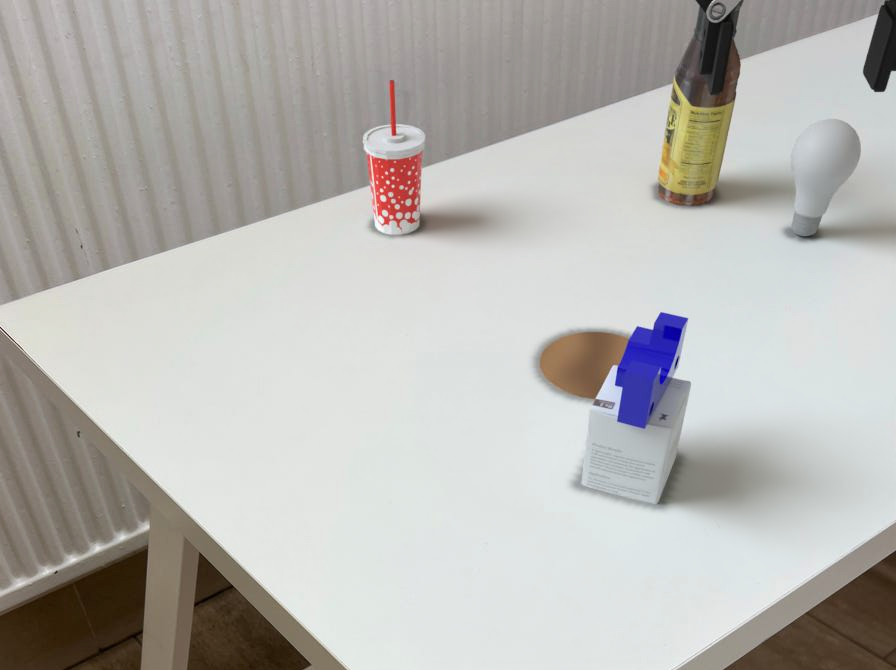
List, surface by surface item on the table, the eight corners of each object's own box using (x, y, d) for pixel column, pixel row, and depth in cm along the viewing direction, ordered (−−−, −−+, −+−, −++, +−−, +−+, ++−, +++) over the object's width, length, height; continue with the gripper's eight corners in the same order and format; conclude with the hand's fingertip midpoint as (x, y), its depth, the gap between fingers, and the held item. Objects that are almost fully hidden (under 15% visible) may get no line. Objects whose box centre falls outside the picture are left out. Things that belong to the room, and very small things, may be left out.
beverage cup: (438, 230, 100) (437, 84, 89) (387, 247, 98) (380, 99, 88) (407, 207, 104) (402, 63, 93) (357, 223, 102) (347, 77, 91)
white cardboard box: (676, 459, 76) (694, 379, 70) (656, 508, 72) (674, 428, 67) (600, 441, 77) (612, 362, 72) (577, 488, 74) (588, 408, 68)
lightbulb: (773, 218, 100) (803, 104, 92) (835, 226, 99) (871, 112, 90) (767, 246, 96) (797, 131, 88) (831, 255, 95) (868, 139, 87)
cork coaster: (634, 329, 88) (635, 325, 87) (671, 394, 81) (672, 390, 81) (527, 342, 87) (527, 338, 86) (555, 409, 80) (556, 405, 80)
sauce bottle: (664, 178, 106) (700, -34, 91) (721, 189, 105) (767, -27, 89) (646, 204, 103) (681, -13, 88) (704, 216, 101) (750, -4, 86)
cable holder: (632, 356, 72) (640, 307, 69) (678, 367, 71) (688, 318, 68) (596, 416, 68) (603, 366, 65) (644, 429, 67) (654, 379, 63)
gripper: (1042, -317, 49) (922, 58, 62) (690, -298, 50) (646, 64, 63) (1097, -294, 44) (954, 107, 57) (706, -274, 45) (655, 113, 58)
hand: (792, 85), depth 60 cm, fingers open, 9 cm apart
